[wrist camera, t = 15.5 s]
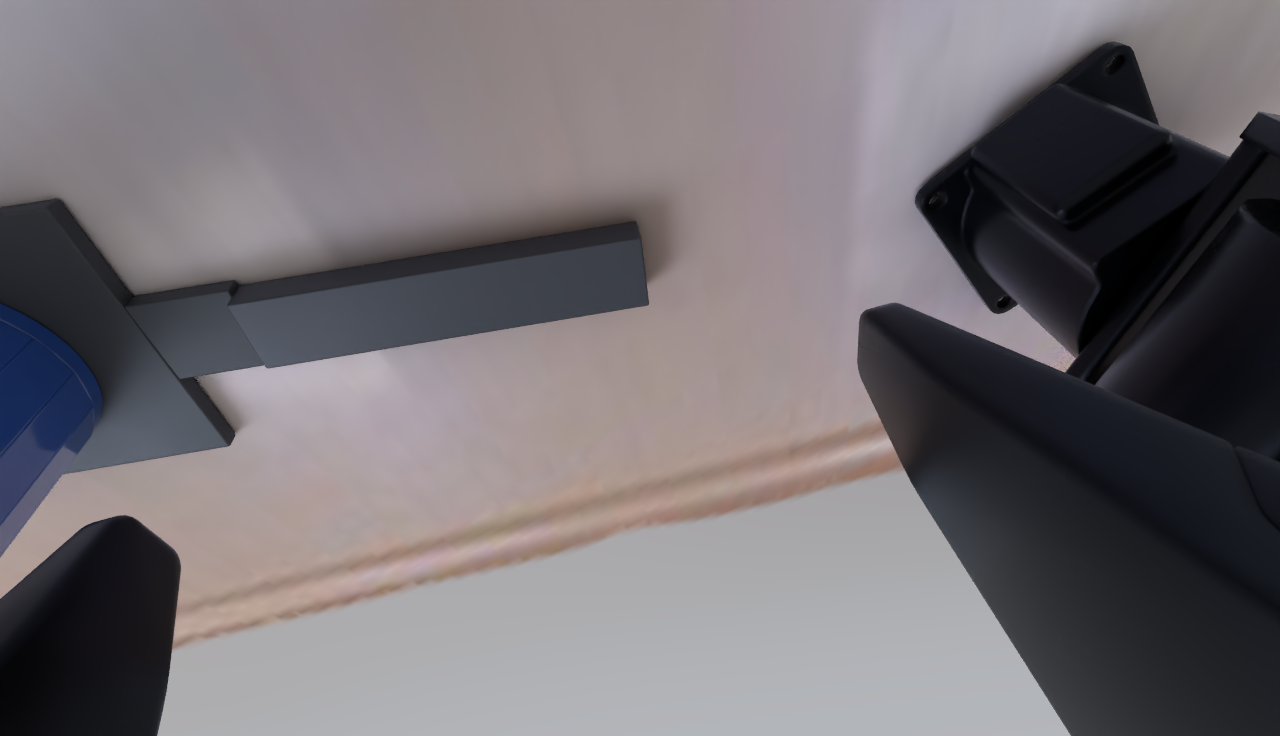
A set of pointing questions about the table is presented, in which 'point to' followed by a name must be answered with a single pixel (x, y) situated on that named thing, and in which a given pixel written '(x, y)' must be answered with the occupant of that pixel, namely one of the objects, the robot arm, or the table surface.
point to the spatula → (282, 317)
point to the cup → (38, 415)
